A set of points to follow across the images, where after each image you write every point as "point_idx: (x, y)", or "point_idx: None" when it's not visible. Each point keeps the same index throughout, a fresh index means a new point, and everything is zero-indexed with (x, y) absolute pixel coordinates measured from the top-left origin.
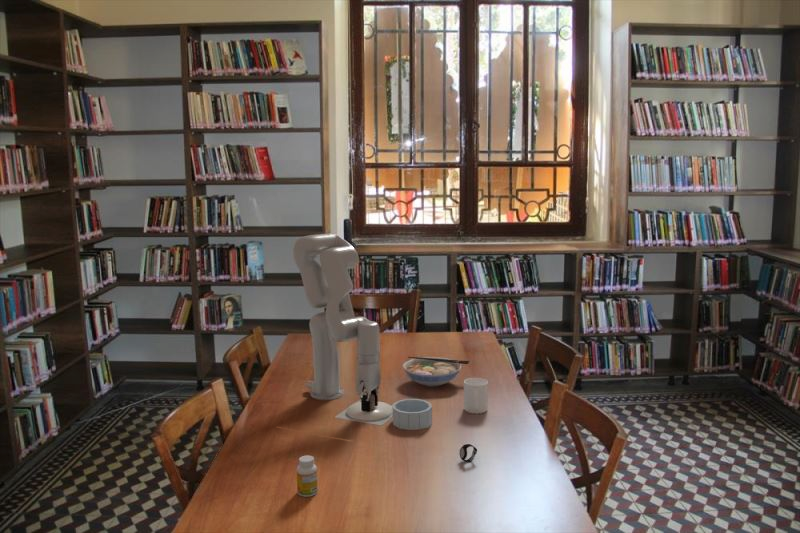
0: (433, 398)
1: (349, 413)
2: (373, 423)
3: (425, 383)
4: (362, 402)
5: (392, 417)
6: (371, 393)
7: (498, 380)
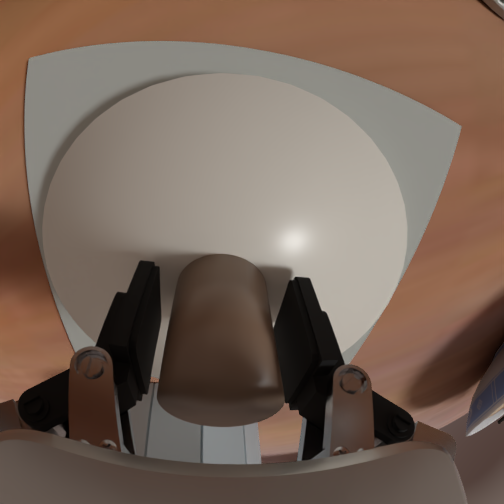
0: (417, 393)
1: (67, 167)
2: (73, 334)
3: (490, 373)
4: (99, 339)
5: (142, 405)
6: (313, 392)
7: (467, 408)
